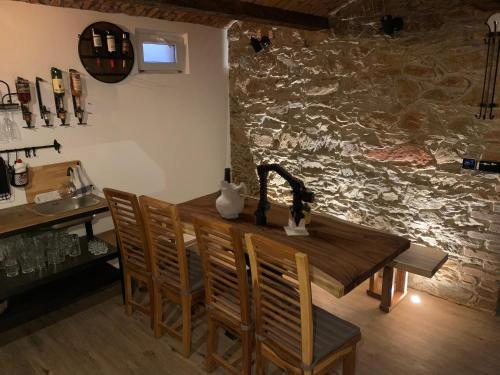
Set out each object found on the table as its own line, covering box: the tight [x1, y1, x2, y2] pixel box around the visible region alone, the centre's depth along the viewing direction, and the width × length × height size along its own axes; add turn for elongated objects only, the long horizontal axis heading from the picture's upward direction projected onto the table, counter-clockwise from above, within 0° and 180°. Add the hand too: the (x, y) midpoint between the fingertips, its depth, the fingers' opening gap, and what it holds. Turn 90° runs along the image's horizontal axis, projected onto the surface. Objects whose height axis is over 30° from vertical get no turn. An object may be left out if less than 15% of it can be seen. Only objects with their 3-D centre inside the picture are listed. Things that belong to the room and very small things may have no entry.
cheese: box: [288, 209, 312, 226], centre depth 257 cm, size 10×11×10 cm
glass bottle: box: [215, 167, 240, 201], centre depth 291 cm, size 18×18×28 cm
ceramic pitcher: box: [215, 179, 248, 220], centre depth 267 cm, size 22×20×25 cm
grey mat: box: [283, 225, 310, 237], centre depth 243 cm, size 13×14×1 cm
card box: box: [288, 218, 306, 228], centre depth 242 cm, size 8×6×5 cm, turn 106°
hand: (296, 224), depth 242 cm, fingers closed on card box, 6 cm apart
